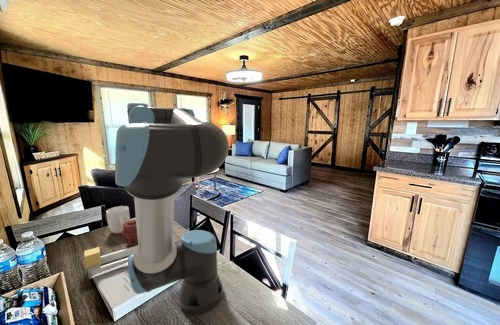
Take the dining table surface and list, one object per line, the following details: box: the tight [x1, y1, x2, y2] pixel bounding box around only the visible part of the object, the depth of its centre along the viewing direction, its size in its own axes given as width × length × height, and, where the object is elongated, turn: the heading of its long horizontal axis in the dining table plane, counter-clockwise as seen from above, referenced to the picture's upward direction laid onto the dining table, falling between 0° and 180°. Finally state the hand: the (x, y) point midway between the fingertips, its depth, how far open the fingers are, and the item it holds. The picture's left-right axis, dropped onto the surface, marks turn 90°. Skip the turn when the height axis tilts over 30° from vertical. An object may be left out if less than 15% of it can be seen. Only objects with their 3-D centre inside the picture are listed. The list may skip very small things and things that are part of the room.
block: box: [83, 246, 102, 269], centre depth 86 cm, size 5×5×5 cm
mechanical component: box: [121, 219, 138, 247], centre depth 106 cm, size 12×10×10 cm
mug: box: [105, 205, 131, 234], centre depth 118 cm, size 15×11×13 cm
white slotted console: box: [87, 245, 138, 280], centre depth 92 cm, size 9×21×4 cm, turn 127°
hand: (145, 194), depth 86 cm, fingers open, 13 cm apart
